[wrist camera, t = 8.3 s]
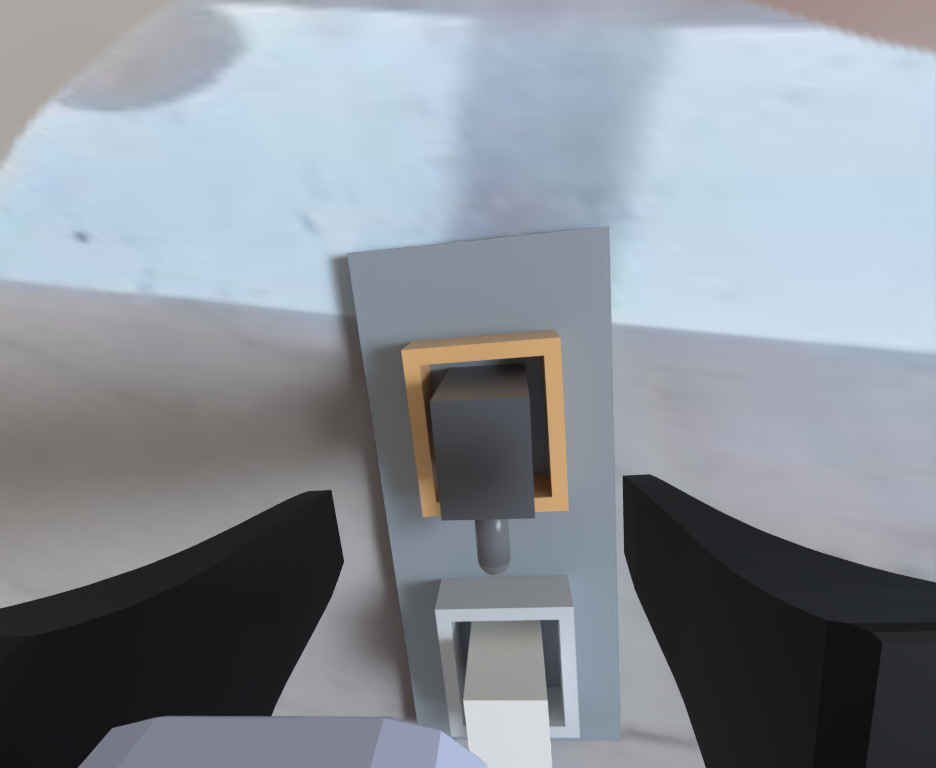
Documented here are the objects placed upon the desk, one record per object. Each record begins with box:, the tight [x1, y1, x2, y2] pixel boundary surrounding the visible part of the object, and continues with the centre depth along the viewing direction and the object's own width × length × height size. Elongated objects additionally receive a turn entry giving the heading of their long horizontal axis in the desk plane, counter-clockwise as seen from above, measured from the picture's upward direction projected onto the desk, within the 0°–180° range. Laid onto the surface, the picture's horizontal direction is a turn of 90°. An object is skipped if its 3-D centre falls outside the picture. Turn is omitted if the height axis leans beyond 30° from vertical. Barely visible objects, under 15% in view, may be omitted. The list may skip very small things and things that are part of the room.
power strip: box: [347, 226, 621, 768], centre depth 19 cm, size 24×10×6 cm, turn 5°
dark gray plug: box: [430, 363, 535, 575], centre depth 17 cm, size 7×3×5 cm, turn 4°
